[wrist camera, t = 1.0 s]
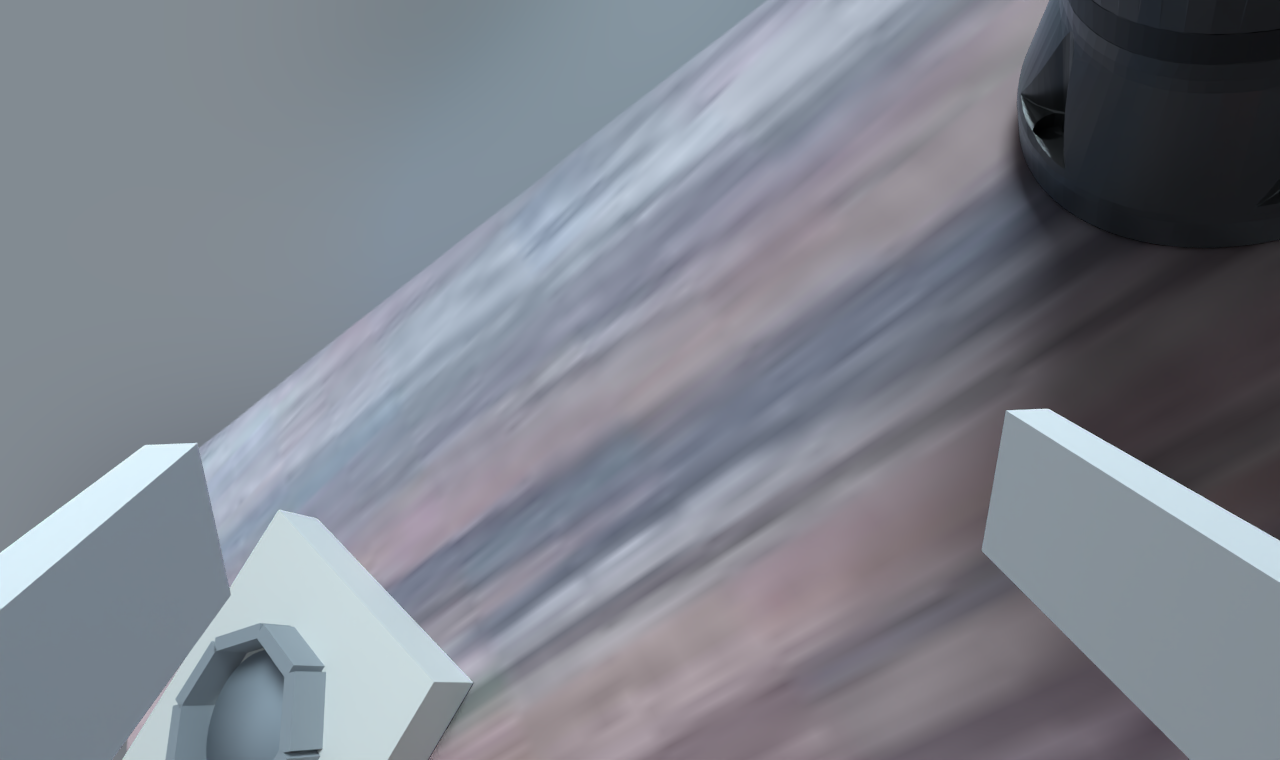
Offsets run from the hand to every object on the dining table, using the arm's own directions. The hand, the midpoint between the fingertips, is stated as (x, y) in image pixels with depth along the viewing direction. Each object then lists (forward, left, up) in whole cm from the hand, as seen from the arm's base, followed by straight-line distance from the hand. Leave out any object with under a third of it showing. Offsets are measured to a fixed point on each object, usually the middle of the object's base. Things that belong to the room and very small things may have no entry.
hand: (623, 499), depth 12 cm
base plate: (+23, -25, -22) cm, 41 cm away
